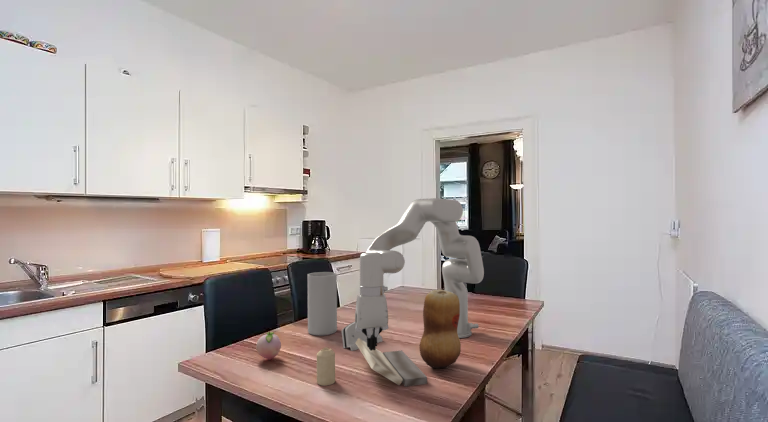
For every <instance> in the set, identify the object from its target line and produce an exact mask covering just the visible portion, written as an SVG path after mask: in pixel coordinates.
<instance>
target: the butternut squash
mask: <svg viewBox="0 0 768 422" xmlns="http://www.w3.org/2000/svg"><path fill="white" fill-rule="evenodd" d="M459 316H460V303H459V298H458V296H457V295H456V294H454V293H452V292H448V291H445V289H434V290H433V289H432V290H430V291H429V292H428V293H426V295H425V297H424V302H423V309H422V319H423V331H422V335H421V338H420V342H419V345H418V346H419V353H420V357H421V358H422V361H424V362H425V364H426V365H427V366H428V367H430V368H433V369H438V368H439V369H446V368H448V367H450V366H451V365H454V364H455V363H456V362H457V360H458V358H459V357H460V355H461V351H462V348H461V347H462V346H461V345H462V344H461V340H460V338H459V337H458V334H457V327H458V322H459Z"/></svg>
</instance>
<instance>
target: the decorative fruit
mask: <svg viewBox="0 0 768 422" xmlns="http://www.w3.org/2000/svg"><path fill="white" fill-rule="evenodd" d="M255 346H256V348H255V349H256V351H257V353H258V355H259V356H261V357H262V358H264V359H266V360H270V361H271V360H272V359H274V358H275V357H276V356H278V354H279V353H280V352H281V348H282V343H281V339H280V337H279V335H277V334H275V333H274V332H273V331H270V330H269V331H268V332H266V334H263V335H262V336H260V337H259V338H258V340H257V342H256V345H255Z"/></svg>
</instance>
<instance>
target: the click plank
mask: <svg viewBox="0 0 768 422" xmlns="http://www.w3.org/2000/svg"><path fill="white" fill-rule="evenodd" d="M356 345H357V346H358V348H359V349H358V350H360V351H359V352H361V354H362V355H363V357H364V359H365V361H366V362H367V363H368V365H369V367H370V368H371V369H372V370H373V371H374V372H376V373H378V374H380V375H381V376H383V377H384V378H386V379H387V380H389V381H391V382H393V383H395V384H396V385H398V386H400V385H401V384H402V380H403V379H402V377H401V376H400V375H399V374H398V372H397V371H396V370H395V369H394V367H393V366H392V365H391V363H390V362H389V361H388V360H387V358H386V357H385V356H384V355H383V352H382V351H380V350H379V349H377V348H376V350H372V351H370V349H369V347H367V343H366V342H364V341H363V340H361V339H360V338H358V340H357V341H356Z"/></svg>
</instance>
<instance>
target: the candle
mask: <svg viewBox="0 0 768 422" xmlns="http://www.w3.org/2000/svg"><path fill="white" fill-rule="evenodd" d="M335 382H336V353H335V351H334V350H333V349H332V348H329V347H327V346H325V347H323V348H322V349H320V350H319V351H318V352H317V353H316V383H317V384H318V385H319V386H322V387H323V386H325V387H326V386H331V385H333V384H335Z"/></svg>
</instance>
